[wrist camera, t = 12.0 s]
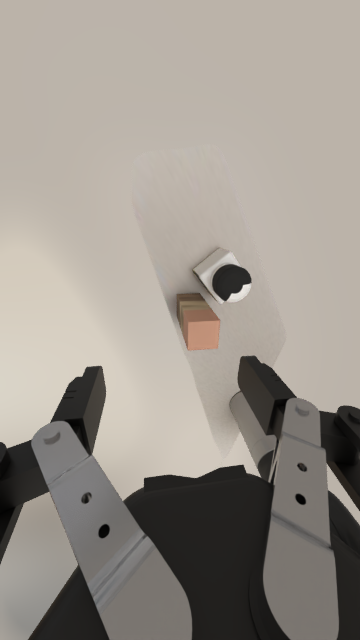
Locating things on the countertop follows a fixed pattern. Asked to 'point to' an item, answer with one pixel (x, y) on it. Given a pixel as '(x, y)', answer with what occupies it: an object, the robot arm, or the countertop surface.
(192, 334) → the clay block
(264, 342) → the countertop surface
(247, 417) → the robot arm
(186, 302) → the tower top
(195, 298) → the tower bottom
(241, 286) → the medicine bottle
